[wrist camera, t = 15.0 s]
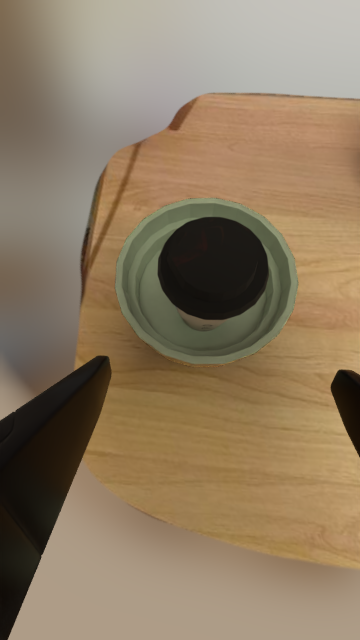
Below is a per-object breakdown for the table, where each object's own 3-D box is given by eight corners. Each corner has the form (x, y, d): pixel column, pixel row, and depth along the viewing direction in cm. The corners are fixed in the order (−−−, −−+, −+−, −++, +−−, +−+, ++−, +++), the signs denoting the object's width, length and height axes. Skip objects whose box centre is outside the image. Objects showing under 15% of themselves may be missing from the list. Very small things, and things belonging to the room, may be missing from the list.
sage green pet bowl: (187, 401, 21) (187, 406, 16) (101, 279, 24) (82, 257, 20) (308, 306, 23) (337, 288, 19) (213, 206, 26) (218, 171, 22)
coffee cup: (250, 294, 23) (297, 230, 13) (219, 357, 21) (248, 336, 12) (187, 265, 24) (189, 185, 14) (154, 323, 22) (130, 278, 13)
